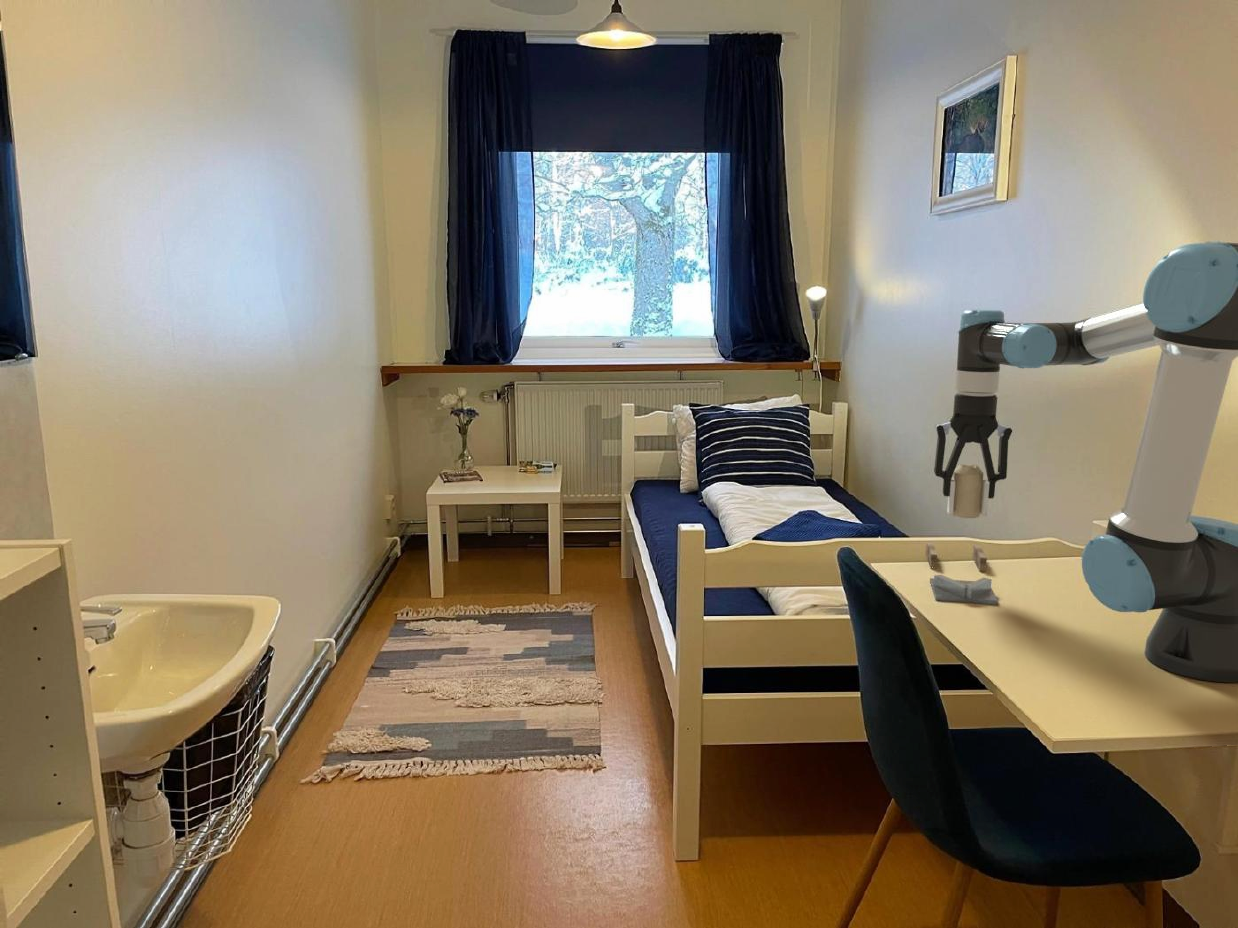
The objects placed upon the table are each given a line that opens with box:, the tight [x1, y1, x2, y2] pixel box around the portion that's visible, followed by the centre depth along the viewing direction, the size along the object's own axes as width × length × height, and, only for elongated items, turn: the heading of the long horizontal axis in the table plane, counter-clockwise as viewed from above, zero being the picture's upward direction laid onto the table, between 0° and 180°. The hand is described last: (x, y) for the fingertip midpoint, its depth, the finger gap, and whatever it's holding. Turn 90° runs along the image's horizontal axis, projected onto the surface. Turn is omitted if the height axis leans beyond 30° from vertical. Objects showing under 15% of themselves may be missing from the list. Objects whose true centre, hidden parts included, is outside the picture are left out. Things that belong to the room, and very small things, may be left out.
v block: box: [929, 574, 999, 606], centre depth 181 cm, size 11×11×3 cm
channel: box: [925, 541, 988, 573], centre depth 200 cm, size 10×11×3 cm
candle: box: [952, 464, 984, 519], centre depth 182 cm, size 6×6×10 cm
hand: (966, 513), depth 180 cm, fingers closed on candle, 5 cm apart
